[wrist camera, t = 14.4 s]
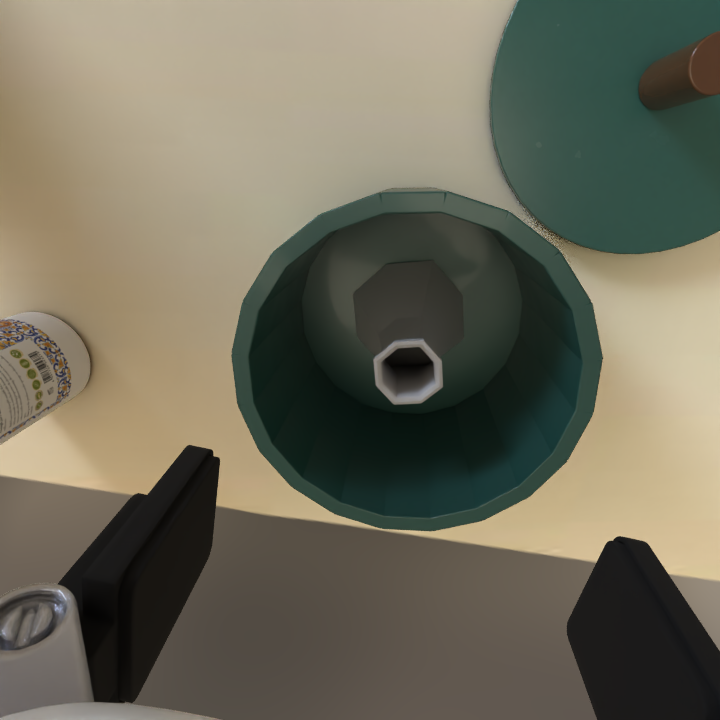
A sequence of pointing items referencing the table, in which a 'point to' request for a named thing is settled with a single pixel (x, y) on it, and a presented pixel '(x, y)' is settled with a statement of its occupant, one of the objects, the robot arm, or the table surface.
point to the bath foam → (37, 369)
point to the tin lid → (612, 119)
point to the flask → (409, 327)
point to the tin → (459, 364)
